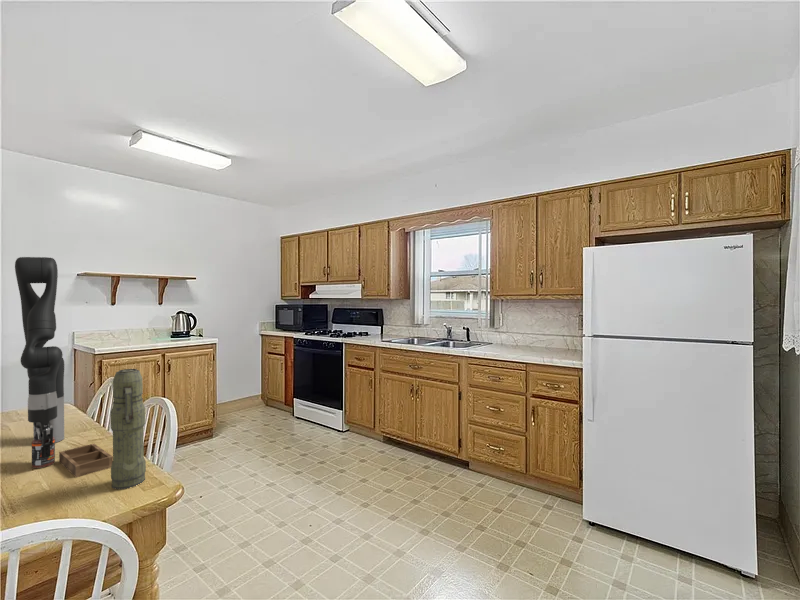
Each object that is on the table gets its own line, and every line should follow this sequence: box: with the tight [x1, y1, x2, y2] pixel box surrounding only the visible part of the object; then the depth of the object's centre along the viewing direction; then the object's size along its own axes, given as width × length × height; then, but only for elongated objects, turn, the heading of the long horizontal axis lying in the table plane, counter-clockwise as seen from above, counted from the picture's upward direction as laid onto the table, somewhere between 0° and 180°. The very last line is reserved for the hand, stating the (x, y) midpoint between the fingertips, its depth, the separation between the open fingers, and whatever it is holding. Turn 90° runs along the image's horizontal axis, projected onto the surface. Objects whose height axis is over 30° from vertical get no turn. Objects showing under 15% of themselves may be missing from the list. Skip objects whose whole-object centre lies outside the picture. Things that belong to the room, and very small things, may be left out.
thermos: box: [110, 368, 147, 490], centre depth 125 cm, size 9×12×35 cm
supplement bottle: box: [31, 433, 56, 469], centre depth 138 cm, size 6×6×11 cm
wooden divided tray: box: [58, 443, 113, 478], centre depth 139 cm, size 19×10×4 cm, turn 52°
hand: (43, 454), depth 138 cm, fingers closed on supplement bottle, 6 cm apart
